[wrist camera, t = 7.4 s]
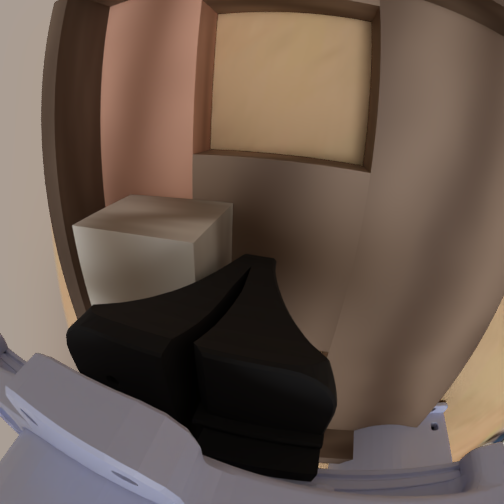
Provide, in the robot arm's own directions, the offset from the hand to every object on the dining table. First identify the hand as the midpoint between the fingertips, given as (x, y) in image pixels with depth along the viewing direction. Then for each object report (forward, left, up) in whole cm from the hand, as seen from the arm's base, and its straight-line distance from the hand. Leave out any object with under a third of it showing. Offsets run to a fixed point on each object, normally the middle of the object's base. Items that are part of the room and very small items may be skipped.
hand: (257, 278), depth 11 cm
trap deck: (-2, 0, -3) cm, 4 cm away
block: (+4, 0, -1) cm, 4 cm away
